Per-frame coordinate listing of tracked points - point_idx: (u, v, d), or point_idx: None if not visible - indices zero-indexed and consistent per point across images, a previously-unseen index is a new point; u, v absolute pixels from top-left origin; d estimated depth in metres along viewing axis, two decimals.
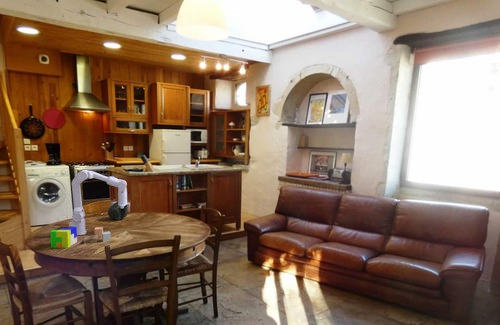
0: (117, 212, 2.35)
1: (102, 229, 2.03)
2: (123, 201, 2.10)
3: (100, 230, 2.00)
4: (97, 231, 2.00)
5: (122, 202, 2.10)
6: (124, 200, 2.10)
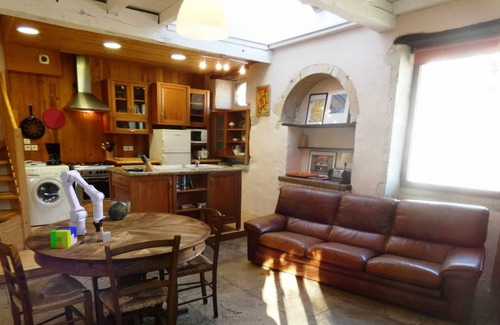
0: (117, 212, 2.35)
1: (102, 229, 2.03)
2: (98, 215, 1.98)
3: (100, 230, 2.00)
4: None
5: (97, 216, 1.98)
6: (99, 214, 1.99)
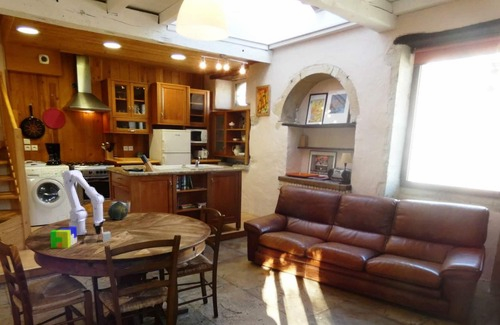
0: (117, 212, 2.35)
1: (102, 229, 2.03)
2: (98, 218, 1.99)
3: None
4: None
5: (97, 219, 1.98)
6: (99, 216, 1.99)
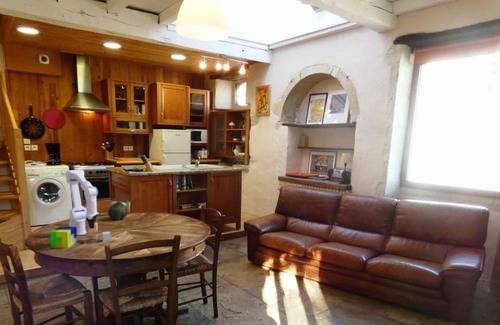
0: (117, 212, 2.35)
1: (97, 225, 1.93)
2: (92, 211, 1.88)
3: (94, 226, 1.90)
4: None
5: (91, 212, 1.88)
6: (93, 210, 1.89)
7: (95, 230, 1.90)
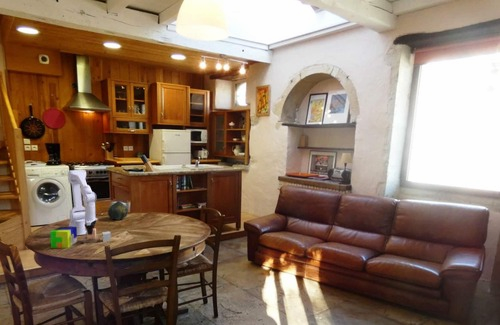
0: (117, 212, 2.35)
1: (95, 231, 1.91)
2: (90, 217, 1.87)
3: (93, 232, 1.88)
4: None
5: (89, 218, 1.86)
6: (91, 216, 1.87)
7: (94, 236, 1.89)
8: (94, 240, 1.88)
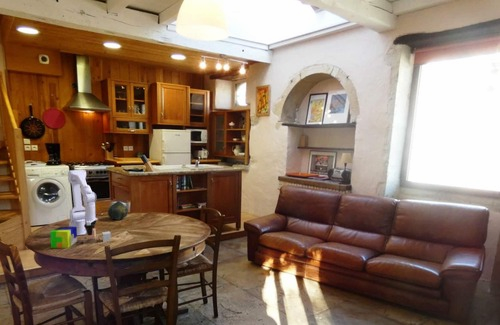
0: (117, 212, 2.35)
1: (95, 231, 1.91)
2: (90, 217, 1.87)
3: (92, 232, 1.88)
4: None
5: (89, 218, 1.86)
6: (91, 216, 1.87)
7: (93, 236, 1.88)
8: (94, 240, 1.87)
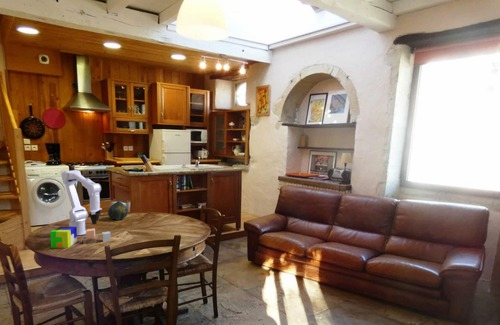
0: (117, 212, 2.35)
1: (94, 231, 1.91)
2: (95, 206, 1.93)
3: (92, 232, 1.88)
4: (89, 233, 1.87)
5: (94, 207, 1.92)
6: (96, 205, 1.93)
7: (93, 236, 1.88)
8: (94, 240, 1.87)
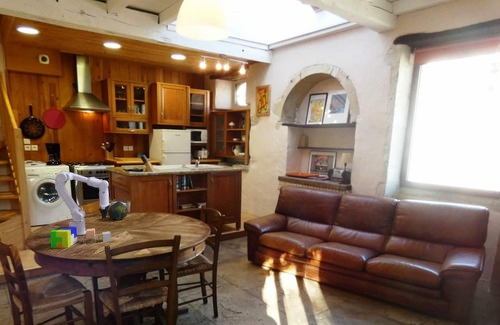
0: (117, 212, 2.35)
1: (94, 231, 1.91)
2: (104, 202, 2.06)
3: (92, 232, 1.88)
4: (89, 233, 1.87)
5: (103, 203, 2.06)
6: (105, 201, 2.06)
7: (93, 236, 1.88)
8: (93, 240, 1.87)
